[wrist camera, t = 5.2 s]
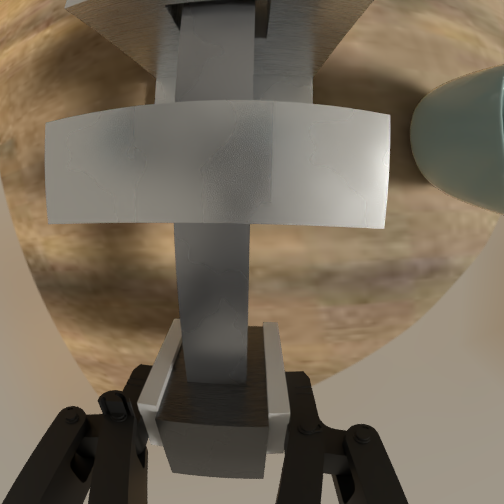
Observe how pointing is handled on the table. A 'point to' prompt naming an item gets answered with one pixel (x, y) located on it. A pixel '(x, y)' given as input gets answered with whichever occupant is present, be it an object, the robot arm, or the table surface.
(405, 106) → the table surface
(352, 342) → the table surface
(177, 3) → the bearing block
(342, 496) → the robot arm
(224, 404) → the shaft
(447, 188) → the cup
